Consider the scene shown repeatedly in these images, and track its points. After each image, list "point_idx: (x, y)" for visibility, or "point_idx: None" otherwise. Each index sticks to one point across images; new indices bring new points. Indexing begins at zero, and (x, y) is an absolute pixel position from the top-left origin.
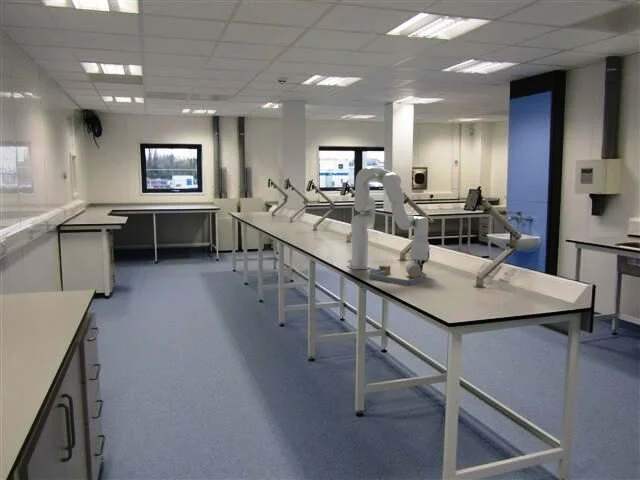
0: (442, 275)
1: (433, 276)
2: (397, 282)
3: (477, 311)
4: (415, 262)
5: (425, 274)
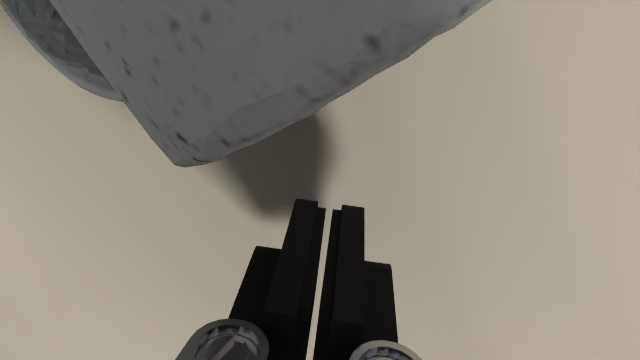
0: (3, 338)
1: (29, 191)
2: None
3: None
4: (265, 98)
5: (60, 56)
